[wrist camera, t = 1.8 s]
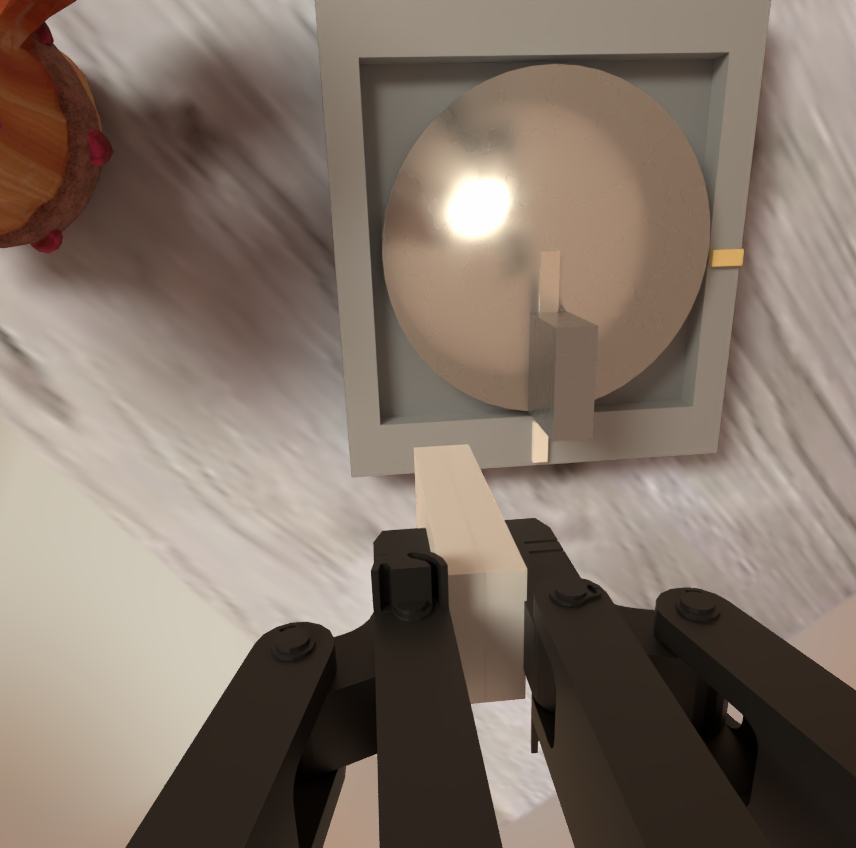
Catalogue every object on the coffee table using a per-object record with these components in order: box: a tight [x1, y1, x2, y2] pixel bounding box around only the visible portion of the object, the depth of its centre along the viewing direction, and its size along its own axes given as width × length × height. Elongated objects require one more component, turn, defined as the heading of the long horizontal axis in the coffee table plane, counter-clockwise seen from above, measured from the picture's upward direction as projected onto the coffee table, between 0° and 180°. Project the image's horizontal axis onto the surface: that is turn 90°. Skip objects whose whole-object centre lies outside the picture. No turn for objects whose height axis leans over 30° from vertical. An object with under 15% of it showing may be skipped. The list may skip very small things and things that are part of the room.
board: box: [315, 0, 771, 477], centre depth 28 cm, size 20×18×3 cm
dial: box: [382, 64, 710, 442], centre depth 26 cm, size 14×14×6 cm
